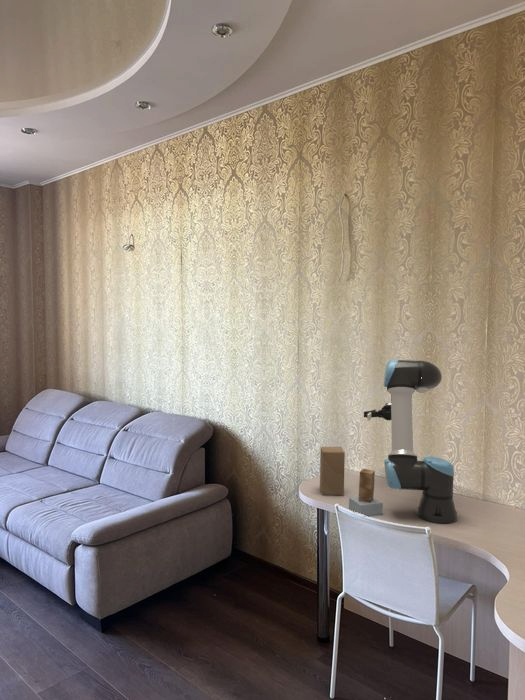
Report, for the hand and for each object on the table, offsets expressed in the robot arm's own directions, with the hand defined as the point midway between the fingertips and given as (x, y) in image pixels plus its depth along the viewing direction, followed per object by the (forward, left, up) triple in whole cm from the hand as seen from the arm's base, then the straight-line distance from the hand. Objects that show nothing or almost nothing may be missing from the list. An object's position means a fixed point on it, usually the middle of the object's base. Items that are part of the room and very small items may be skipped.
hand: (383, 418), depth 228 cm
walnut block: (-12, +19, -30) cm, 38 cm away
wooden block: (+14, +17, -35) cm, 42 cm away
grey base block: (-12, +20, -35) cm, 42 cm away
